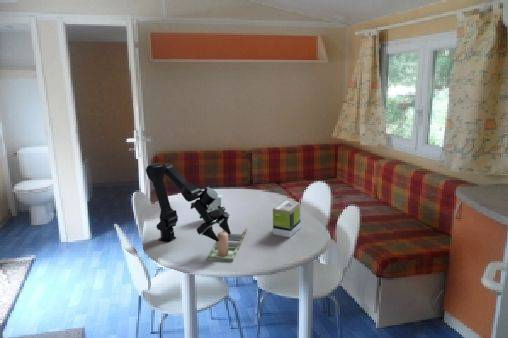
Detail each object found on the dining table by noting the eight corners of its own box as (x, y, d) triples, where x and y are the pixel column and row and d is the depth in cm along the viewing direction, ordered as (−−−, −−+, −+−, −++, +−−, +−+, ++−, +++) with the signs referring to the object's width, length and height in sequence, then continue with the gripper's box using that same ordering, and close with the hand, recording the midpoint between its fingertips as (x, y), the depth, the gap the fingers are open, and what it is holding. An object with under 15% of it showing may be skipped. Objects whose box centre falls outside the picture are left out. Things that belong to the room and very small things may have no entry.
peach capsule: (217, 252, 179) (216, 232, 177) (227, 251, 180) (226, 231, 178) (218, 257, 175) (218, 236, 172) (229, 255, 176) (228, 235, 173)
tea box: (284, 224, 213) (284, 199, 209) (300, 228, 208) (301, 202, 205) (272, 234, 200) (272, 207, 197) (290, 238, 195) (290, 210, 192)
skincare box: (207, 221, 218) (206, 196, 215) (209, 217, 224) (208, 193, 221) (221, 222, 218) (221, 197, 214) (223, 218, 224) (222, 193, 220)
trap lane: (225, 229, 207) (225, 226, 207) (246, 230, 205) (246, 228, 205) (207, 259, 173) (207, 257, 172) (233, 261, 171) (233, 258, 171)
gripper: (200, 206, 166) (222, 235, 163) (225, 195, 181) (245, 221, 178) (187, 220, 172) (208, 248, 169) (213, 208, 187) (232, 233, 184)
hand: (224, 237), depth 175 cm, fingers open, 9 cm apart
